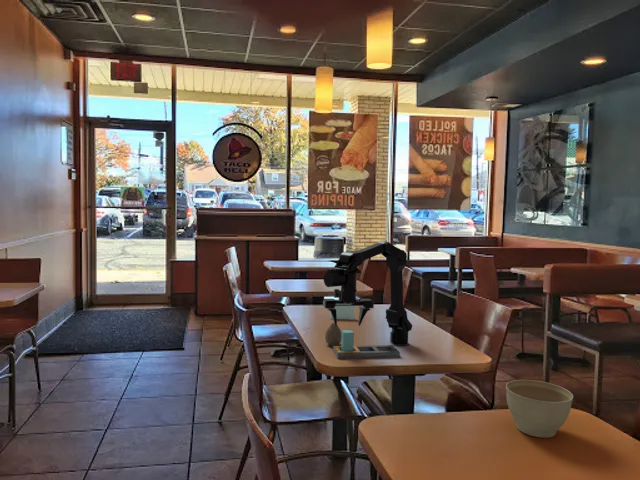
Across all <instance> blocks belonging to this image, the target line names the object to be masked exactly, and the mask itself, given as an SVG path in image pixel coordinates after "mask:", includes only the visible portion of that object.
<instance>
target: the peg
mask: <svg viewBox="0 0 640 480" xmlns="http://www.w3.org/2000/svg"><path fill="white" fill-rule="evenodd" d="M340 330H341V343H340V346H341V351H353V348H354V346H355V345H354V343H355V342H354V341H355V339H354V338H355V332H354V331H353V330H349V329H344V330H342V329H340Z"/></svg>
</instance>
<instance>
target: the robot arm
mask: <svg viewBox="0 0 640 480" xmlns="http://www.w3.org/2000/svg"><path fill="white" fill-rule="evenodd" d="M378 255H382V256H383V257H384V258H385V262H386V266H387V267H388V269H389V273H390V305H389V308H388V309H387V308H386V309H385V319H386V322H387V324H388V328H389V329H391V331H390V333H389V334H390V337H389V342H390V343H391V345H393V346H409V345H410V343H409V332H410V331H412V329H413V324H412V322H410V320H409V319H408V313H407V310H406V308H405V306H404V295H403V294H404V287H403V285H404V282H403V279H404V278H403V277H404V276H403V273H404V272H403V271H404V269H405V268H406V265H407V260H408V254H407V252H406V251H405V250H403V249H401V248H399V247H397V246H395V245H393V244H392V243H391V242H389V241H383V240H380V241H378V242H376V243H373V244H371V245H368V246H366V247H364V248H360V249H359V250H358V249H357V250H348V251H343V252H342V253H340V256H339V259H338V260H337V261H336V264H335V265H334V267H333V268H327V269H326V270H327V271H326V272H325V274H324V276H323V282H324V283H323V284H324V286H326V287H327V288H333V287H340V289H339V288H335V289H333V298H324V299H323V300H322V306H323V307H324V309H327V311H329V313H330V312H331V314H332V317H333V319H332V321H333V323H334V324H335V326H336V325H338V321H337V320H338V319H337V315H336V309H335V306H355V307H356V306H357V307H358V308H359V312H358V313H359V314H358V326H359V327H361V325H362V322H363V320H364V319H365V316H366V314H367V313H368V312H370V311H371V309H374V306H375V304H374V301H373V300H372V299H371V298H360V300H357V280H358V279H357V277H358V274H361V273H362V270H360V269H359V268H358V267H360V266H361V265H363V264H364V262H365V261H367V260H369V259H371V258H374V257H377V256H378ZM335 299H338V300H335Z"/></svg>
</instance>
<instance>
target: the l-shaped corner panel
mask: <svg viewBox="0 0 640 480" xmlns="http://www.w3.org/2000/svg"><path fill="white" fill-rule="evenodd" d="M335 309H336V315H337V320H355V314H356V313H355V311H356V306H335ZM329 313H330V314H329V316H330V317H329V318H330V320H333V317H332V314H331V312H330V311H329Z"/></svg>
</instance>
